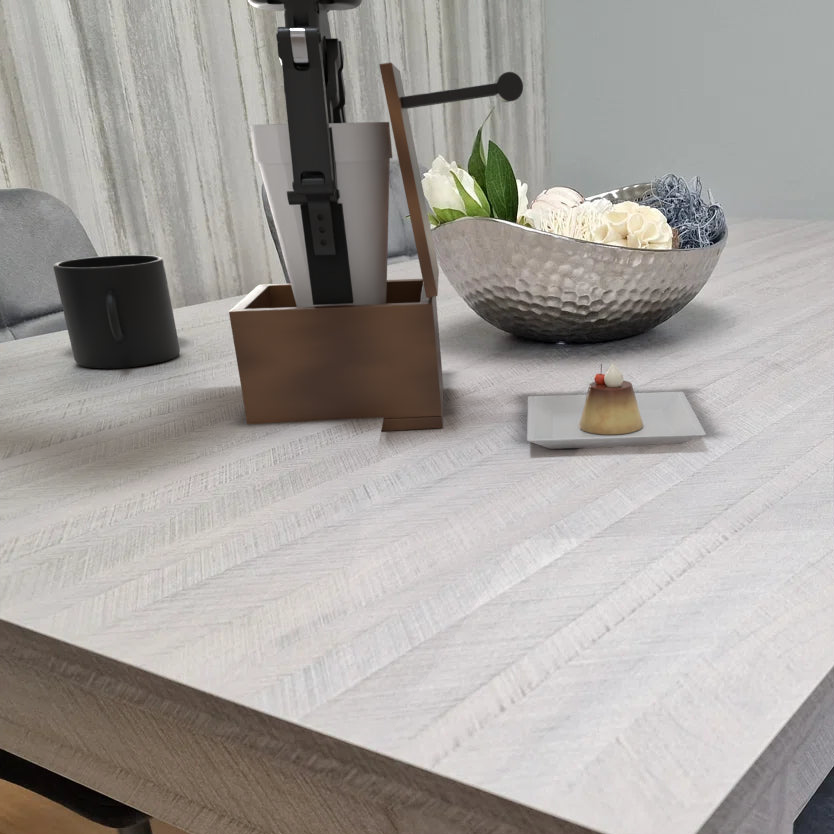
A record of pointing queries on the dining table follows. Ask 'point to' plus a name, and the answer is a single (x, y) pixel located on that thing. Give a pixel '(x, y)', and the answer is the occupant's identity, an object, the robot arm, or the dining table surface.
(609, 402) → the dessert
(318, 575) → the dining table surface
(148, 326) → the mug
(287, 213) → the foam cup
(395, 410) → the basket
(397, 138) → the wooden box lid
